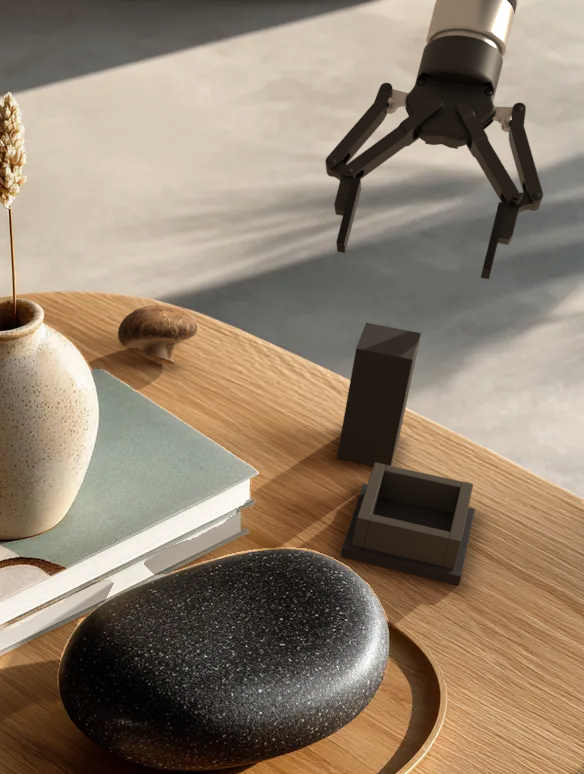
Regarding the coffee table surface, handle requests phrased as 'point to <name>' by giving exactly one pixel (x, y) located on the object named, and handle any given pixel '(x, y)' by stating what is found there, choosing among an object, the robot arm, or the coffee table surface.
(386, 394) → the dark rectangular block
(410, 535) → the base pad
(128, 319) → the mushroom
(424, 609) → the coffee table surface
